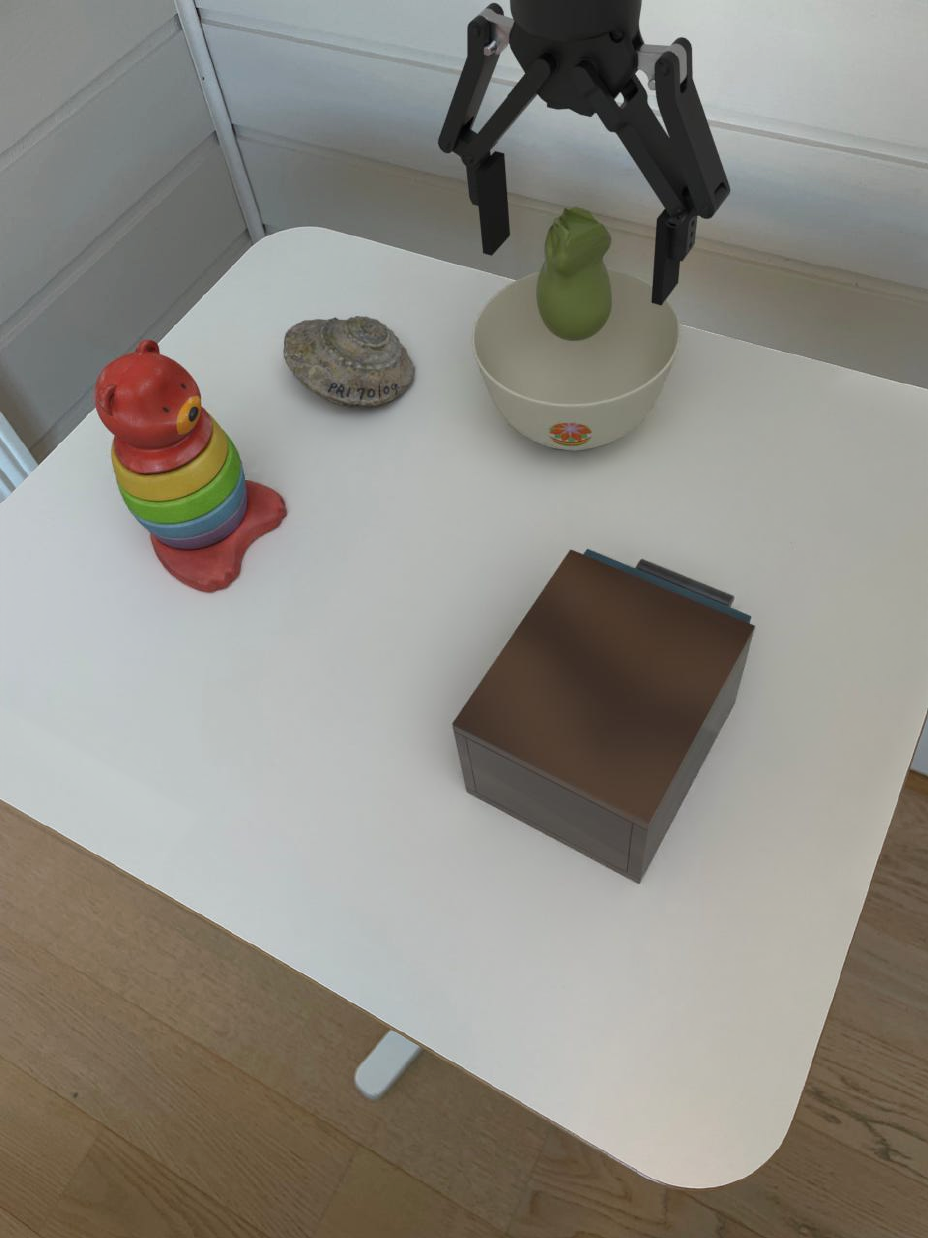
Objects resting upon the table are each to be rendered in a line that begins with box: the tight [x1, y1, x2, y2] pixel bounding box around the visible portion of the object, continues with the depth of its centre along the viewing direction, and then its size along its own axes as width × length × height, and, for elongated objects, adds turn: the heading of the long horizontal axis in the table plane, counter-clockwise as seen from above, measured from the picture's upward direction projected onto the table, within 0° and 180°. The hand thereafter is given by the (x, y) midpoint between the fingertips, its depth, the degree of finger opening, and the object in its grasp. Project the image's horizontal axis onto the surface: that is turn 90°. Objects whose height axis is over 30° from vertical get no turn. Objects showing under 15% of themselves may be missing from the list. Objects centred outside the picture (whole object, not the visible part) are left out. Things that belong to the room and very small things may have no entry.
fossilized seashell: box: [282, 315, 416, 408], centre depth 90 cm, size 11×10×7 cm
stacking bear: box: [93, 339, 288, 593], centre depth 75 cm, size 11×10×18 cm
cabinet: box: [451, 549, 756, 885], centre depth 65 cm, size 15×13×10 cm
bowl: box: [471, 267, 682, 452], centre depth 81 cm, size 16×16×10 cm
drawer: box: [583, 548, 752, 624], centre depth 66 cm, size 18×12×8 cm, turn 148°
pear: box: [536, 206, 613, 341], centre depth 73 cm, size 6×5×10 cm
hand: (577, 268), depth 72 cm, fingers open, 13 cm apart
